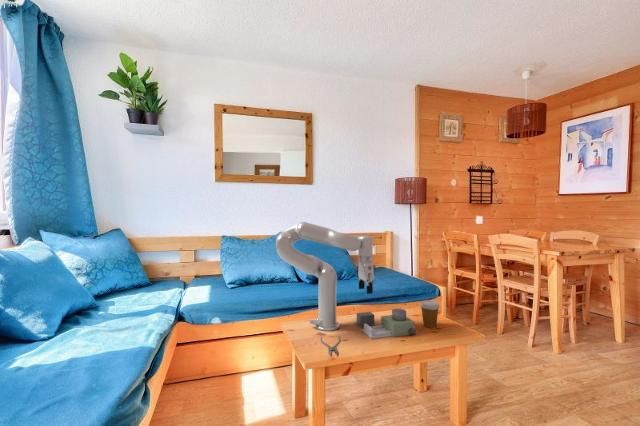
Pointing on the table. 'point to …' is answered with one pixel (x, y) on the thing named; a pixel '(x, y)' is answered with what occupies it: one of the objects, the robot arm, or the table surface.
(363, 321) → the dark grey block
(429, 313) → the disposable coffee cup
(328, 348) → the pliers
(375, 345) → the table surface
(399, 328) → the knobbed sage block
